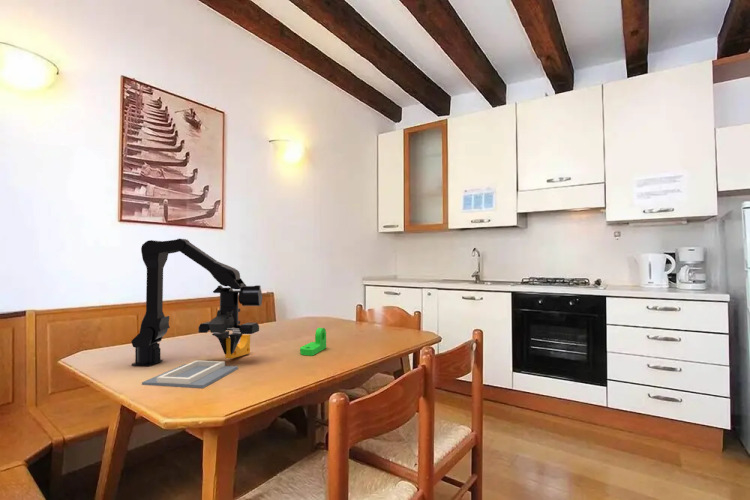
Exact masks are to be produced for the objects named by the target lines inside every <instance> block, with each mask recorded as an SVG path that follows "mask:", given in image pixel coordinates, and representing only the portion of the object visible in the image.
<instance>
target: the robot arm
mask: <svg viewBox="0 0 750 500" xmlns="http://www.w3.org/2000/svg"><path fill="white" fill-rule="evenodd" d="M140 248H141V249H140V253H141V256H142V257H141V258H142V261H143V263H144V265H145V267H146V292H145V293H146V295H145V297H146V299H145V302H146V303H145V314H144V316H143V318H142V321H141V324H140V328H139V333H138V334H137V335H136V336H135V337H134V338H133V339H131V341H130V343H131V345H132V347H133V348H135V354H134V355H135V360H134V361H135V362H132V363H131V366H141V367H150V366H153V365H156V364H159V363H160V362H161V363H162V362H163V361H164V359H161V348H160V343H161V342H162V339H163V337H164V336H165V335H166V334H167V333H168V329H170V323H169V322H170V315H167V316H166V315H165V313H164V312H163V307H164V306H163V303H164V301H163V300H164V299H163V298H164V297H163V296H164V291H163V290H164V267H165V265H166V262H167V261H168V257H169V255H170V254H175V253H178V252H180V253H182V254H183V255H184V256H186V257H187V258H189V259H190V260H192V261H193V262H195V263H196V264H198V265H199V266H201V267H202V268H204V269H205V270H206V271H208V272H209V273H210V275H211V276H212V277H213V279H215V281H217V283H218V284H220V285H217V287H216V288H215V289H214V290H213V291H212V293H214V294H219V309H218V310H217V312H216V316H215V317H213V318H212V319H211V320H210V321H206V322H202V323H200V324H199V325H198V331H197V332H198V333H200V334H201V333H202V334H203V333H204V334H207V333H208V332H209V333H211V335H212V336H214V337H215V338H217V339H218V341H219V343H220V346H221V349H222V351H223V354H224V355H225V354H226V338H231V344H230V353H231V354H233V353H234V351H235V349H236V346H237V344H239V343H240V339H241V336H242V335H252V334H256V333H258V332H259V331H260V325H259V323H258V322H245V323H242V324H241V320H239V312H240V313H241V308H239V304H240V305H241V306H242V307H261V306H262V305H263V304H262V303H263V294H262V288H261V285H257V284H256V285H246V284H245V282H244V281H243V280H242V278H241V275H240V274H241V273H240V271H239V270H238V269H236V268H234V267H232V266H229V265H228V264H225V263H222V262H220V261H218V260H216V259H215V258H213V256H210V254H208V253H206V252H205V251H203V250H202V249H200V248H199V247H197V246H196V245H194V244H193V243H192V242H190V241H189V240H188V239H186V238H177V239H172V240H164V241H163V240H153V239H151V240H147V241H145V242H144V243H143V244H142V245H141V247H140ZM231 331H232V332H231ZM230 332H231V333H230Z"/></svg>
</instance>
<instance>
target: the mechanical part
mask: <svg viewBox="0 0 750 500" xmlns="http://www.w3.org/2000/svg"><path fill="white" fill-rule="evenodd" d="M314 335H315V338H314V339H315V341H310V342H309V343H307V344H304V345H302V346H301V347H299V348H300V349H299V354H300V355H301V356H309V357H310V356H311V357H312V356H315V355H316V354H319V353H320V352H322V351H323V350H325V349H327V331H326V329H325V327H317V328H316V330H315V334H314Z"/></svg>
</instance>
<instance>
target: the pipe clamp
mask: <svg viewBox="0 0 750 500" xmlns="http://www.w3.org/2000/svg"><path fill="white" fill-rule="evenodd" d="M230 344H231V338H230V337H229V338H226V354H224V358H225V359H235V358H239V357H242V356H246V355H248V354H250V353H251V334H242V336H241V338H240V340H239V342H238V344H237V346H236V349H235V351H234V353H233V354H231V353H230Z"/></svg>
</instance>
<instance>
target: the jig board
mask: <svg viewBox="0 0 750 500" xmlns="http://www.w3.org/2000/svg"><path fill="white" fill-rule="evenodd" d="M238 369H239V366H237V365H226V362H225V360H222V361H221V360H197V359H196V360H194V361H192V362H190V363H183V364H181V365H179V366H177V367H175V368H172V369H170V370H168V371H165V372H162V373H161V374H158V375H157V376H154V377H150V378H149V379H146V380H144V381H142V382H141V385H143V386H155V387H156V386H157V387H171V388H172V387H173V388H189V389H204V388H206V387H208V386H210V385H212V384H213V383H215V382H217V381H219V380H221V379H222V378H224V377H226V376H228V375H229V374H232V373H233V372H235V371H236V370H238Z"/></svg>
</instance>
